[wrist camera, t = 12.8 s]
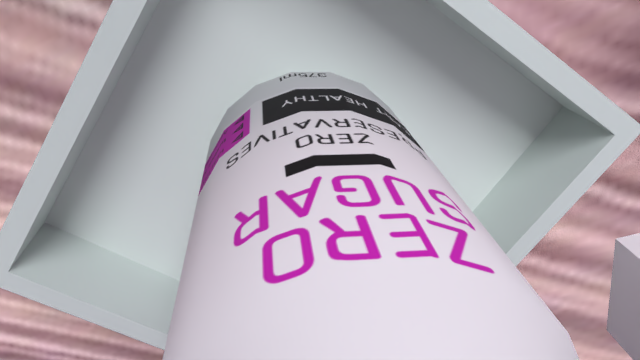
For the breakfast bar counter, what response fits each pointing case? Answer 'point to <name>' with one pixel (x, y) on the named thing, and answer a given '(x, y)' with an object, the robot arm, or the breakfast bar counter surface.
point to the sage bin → (260, 66)
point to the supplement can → (343, 243)
